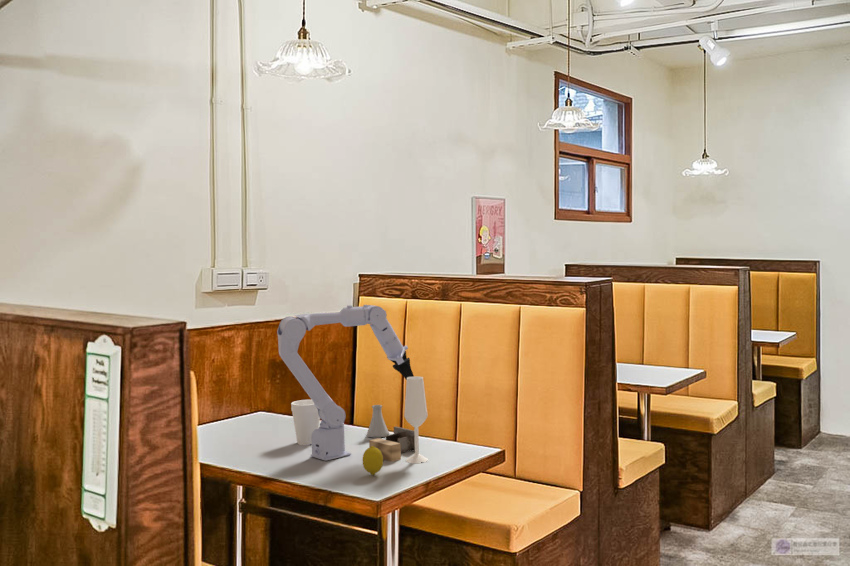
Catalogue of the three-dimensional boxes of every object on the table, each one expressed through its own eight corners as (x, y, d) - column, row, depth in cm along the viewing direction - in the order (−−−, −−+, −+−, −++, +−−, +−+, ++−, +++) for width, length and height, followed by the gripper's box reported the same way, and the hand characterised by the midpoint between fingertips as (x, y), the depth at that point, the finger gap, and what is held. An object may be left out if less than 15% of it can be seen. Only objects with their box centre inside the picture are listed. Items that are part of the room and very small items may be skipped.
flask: (379, 439, 251) (378, 408, 251) (362, 436, 256) (361, 406, 255) (393, 434, 257) (392, 404, 256) (376, 432, 261) (375, 402, 261)
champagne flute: (402, 458, 227) (400, 377, 226) (423, 456, 229) (421, 375, 228) (410, 464, 220) (407, 380, 219) (432, 461, 223) (430, 378, 222)
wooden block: (400, 459, 226) (400, 443, 226) (391, 462, 224) (391, 445, 224) (378, 453, 234) (378, 438, 234) (369, 456, 231) (369, 440, 231)
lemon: (383, 471, 214) (382, 443, 213) (383, 477, 208) (382, 448, 208) (363, 472, 214) (362, 443, 213) (362, 478, 208) (361, 448, 208)
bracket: (403, 454, 231) (402, 434, 231) (381, 449, 238) (381, 429, 238) (417, 450, 235) (417, 431, 235) (396, 445, 242) (395, 426, 242)
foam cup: (325, 444, 246) (324, 403, 246) (296, 447, 243) (295, 406, 242) (318, 437, 255) (316, 398, 255) (290, 441, 252) (288, 401, 251)
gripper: (402, 339, 231) (424, 377, 234) (397, 328, 245) (418, 364, 248) (382, 350, 230) (404, 388, 233) (378, 339, 245) (398, 375, 247)
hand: (410, 377), depth 240 cm, fingers open, 7 cm apart
